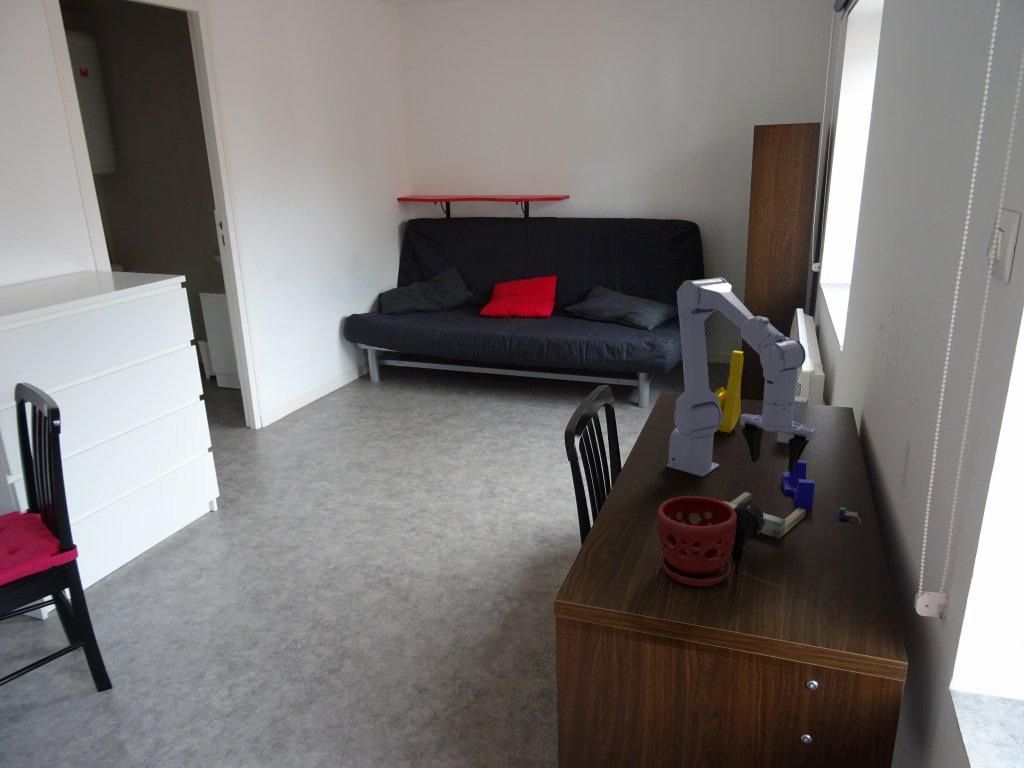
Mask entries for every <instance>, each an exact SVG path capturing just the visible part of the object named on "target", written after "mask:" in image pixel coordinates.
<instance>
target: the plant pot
mask: <svg viewBox="0 0 1024 768" xmlns="http://www.w3.org/2000/svg"><path fill="white" fill-rule="evenodd" d="M722 501H723V500H722ZM722 501H721V500H719V499H714V498H712V497H708V496H707V497H706V496H698V495H697V496H696V495H688V496H687V495H685V496H684V495H683V496H677V497H674V498H670V499H668V500H665V501H663V502H662V503H661V504H659V507H658V509H657V530H658V531H657V533H658V541H659V544H660V547H661V550H662V553H663V557H662V560H661V565H662V566H661V567H662V568H663V570H664V572H665V573H666V574H667V575H668V576H669V577H670V578H672V579H673V580H675V581H677V582H680V583H682V584H685V585H688V586H694V587H695V586H696V587H709V586H713V585H716V584H719V583H721V582H723V581H724V580H725V579H726V578H728V576H729V575H730V573H731V570H732V566H731V563H730V561H729V559H730V557H731V556H732V550H733V546H734V541H735V534H736V524H737V516H736V512H735V510H734V509H733V508H732V507H731V506H729V505H728V504H726V503H724V502H722ZM678 513H681V516H680V517H679V518H678V517H677V515H678ZM706 513H710V514H711V517H708V516H707V515H706ZM691 514H697V515H699V517H700V521H699V522H698V523H694V522H692V521H691V520H690V516H691ZM719 518H720V519H719ZM718 519H719V520H721V522H720V523H718ZM682 522H684V523H682ZM709 524H711V525H709Z"/></svg>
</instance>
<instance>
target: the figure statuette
mask: <svg viewBox="0 0 1024 768" xmlns="http://www.w3.org/2000/svg"><path fill="white" fill-rule="evenodd" d="M744 359H745V358H744V351H740V350H733V351H732V352H731V359H730V364H729V365H730V366H729V375H728V380H727V384H726V385H727V386H726V389H725V387H723V386H721V387H720V388H718V389H717V390H716V391H715V392H713V393H714V394H715V395H717V396H718V399H719V405H720V408H721V410H722V415H723V419H722V423H721V425H720V426H719V427H717V429H716V432H717V431H718V430H719V431H720V432H722V433H729V434H731V433H732V431H733V429H734V428H735V426H736V424H737V422H738V420H739V419H740V416H741V411H742V409H741V405H742V404H741V390H742V389H741V385H742V375H743V368H744V367H743V366H744Z"/></svg>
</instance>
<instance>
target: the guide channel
mask: <svg viewBox="0 0 1024 768" xmlns="http://www.w3.org/2000/svg"><path fill="white" fill-rule="evenodd" d="M750 501H752V493H750V492H747V491H744V492H743V493H742V494H741V495H739V496H738V497H736V498H735V499H733V500H731V501H729V502H728V501H727V500H726V501H725V500H722V502H724V503H726V504H728V505H729V506H731V507H732V508H733V509H734V508H735V507H736V506H738V505H739V504H742V503H749V502H750ZM806 510H807V509H803V508H796V509H795V510H794V511H793V512H792V513H790V514H789V515H788V516H787V517H785V518H781V517H777V516H775V515H771V514H768V513H765V512H762V513H763V515H764V516H763V520H765V525H764V527H763V528H762V530H761V532H760V534H764V535H767V536H770V537H773V538H776V539H781V538H782V537H784V535H786V533H788V532H789V531H791V529H793V527H795V525H797V524H798V523H799V522H800V521H802V519H804V518H805V517H806ZM718 519H719V520H721V519H720V518H718Z"/></svg>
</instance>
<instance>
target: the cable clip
mask: <svg viewBox="0 0 1024 768" xmlns="http://www.w3.org/2000/svg"><path fill="white" fill-rule="evenodd" d="M807 464H808V463H807V460H805V459H799V460H798V463H797V466H796V469H795V470H794V471H793V472H790V471H782V472H781V473H782V475H781V485H782V488H783V491H784V495H786V496H787V495H788V496H792V498H793V501H794V504H795V507H796V509H797V508H802V509H806V510H813V503H814V495H815V486H816V483H815V480H814V479H807Z"/></svg>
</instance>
